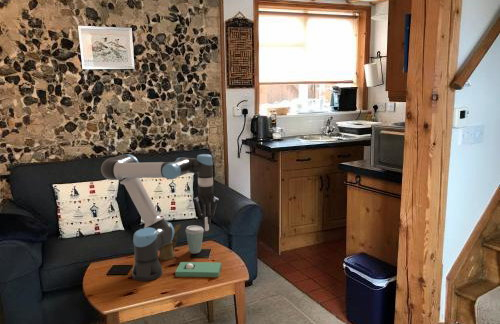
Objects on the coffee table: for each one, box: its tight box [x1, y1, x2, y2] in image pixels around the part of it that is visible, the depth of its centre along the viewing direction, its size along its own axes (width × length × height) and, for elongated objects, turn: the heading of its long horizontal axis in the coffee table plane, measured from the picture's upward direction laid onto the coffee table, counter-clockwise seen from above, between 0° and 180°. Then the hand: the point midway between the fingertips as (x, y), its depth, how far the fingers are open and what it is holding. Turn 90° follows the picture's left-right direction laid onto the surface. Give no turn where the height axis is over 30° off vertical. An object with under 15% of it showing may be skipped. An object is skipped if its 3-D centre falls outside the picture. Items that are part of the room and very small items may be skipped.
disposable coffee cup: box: [185, 225, 205, 254], centre depth 239 cm, size 11×11×15 cm
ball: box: [186, 263, 194, 269], centre depth 214 cm, size 4×4×4 cm
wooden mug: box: [158, 223, 181, 261], centre depth 233 cm, size 9×14×18 cm, turn 123°
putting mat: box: [174, 261, 222, 278], centre depth 214 cm, size 22×12×2 cm, turn 86°
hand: (207, 230), depth 210 cm, fingers closed
